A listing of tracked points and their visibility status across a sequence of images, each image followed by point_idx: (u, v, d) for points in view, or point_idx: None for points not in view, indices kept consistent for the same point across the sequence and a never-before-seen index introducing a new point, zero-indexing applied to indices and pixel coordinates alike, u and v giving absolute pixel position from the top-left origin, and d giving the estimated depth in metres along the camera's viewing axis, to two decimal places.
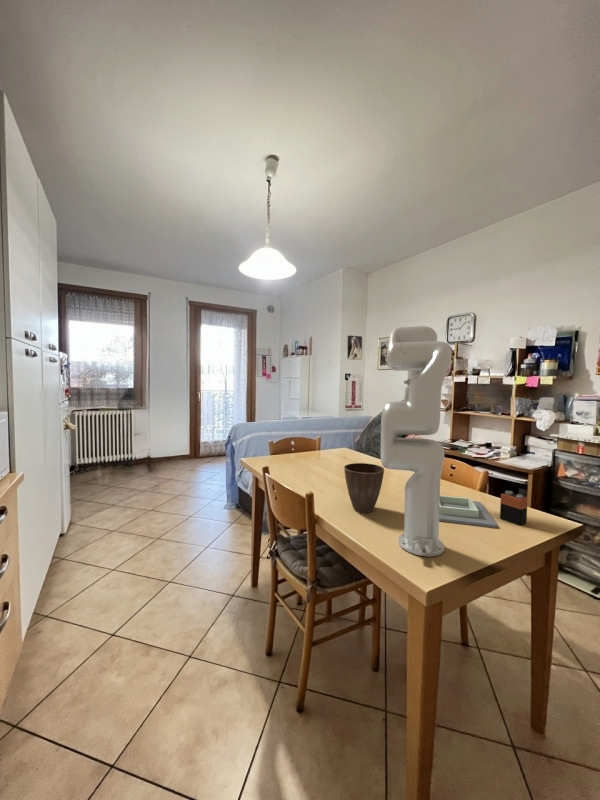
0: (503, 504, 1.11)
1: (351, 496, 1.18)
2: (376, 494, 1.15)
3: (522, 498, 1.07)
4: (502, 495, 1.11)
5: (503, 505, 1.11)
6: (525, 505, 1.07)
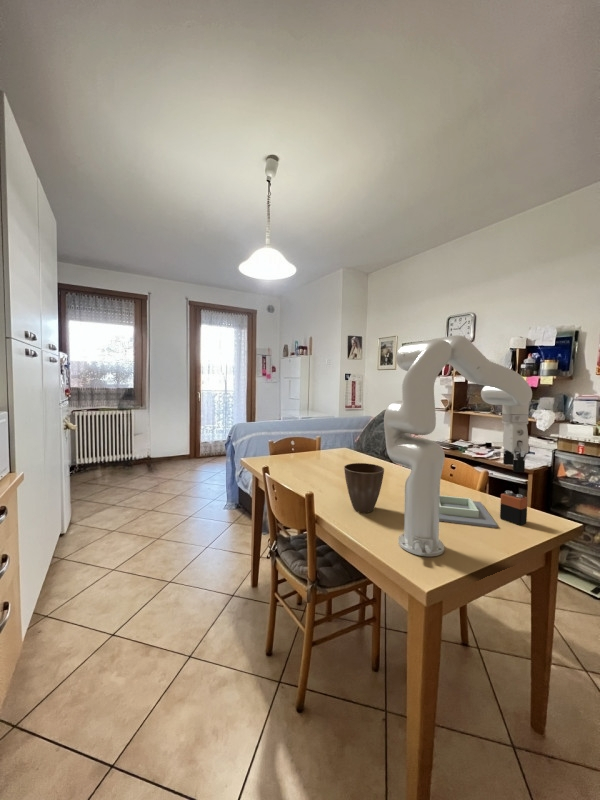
0: (503, 504, 1.11)
1: (351, 496, 1.18)
2: (376, 494, 1.15)
3: (522, 498, 1.07)
4: (502, 495, 1.11)
5: (503, 505, 1.11)
6: (525, 505, 1.07)
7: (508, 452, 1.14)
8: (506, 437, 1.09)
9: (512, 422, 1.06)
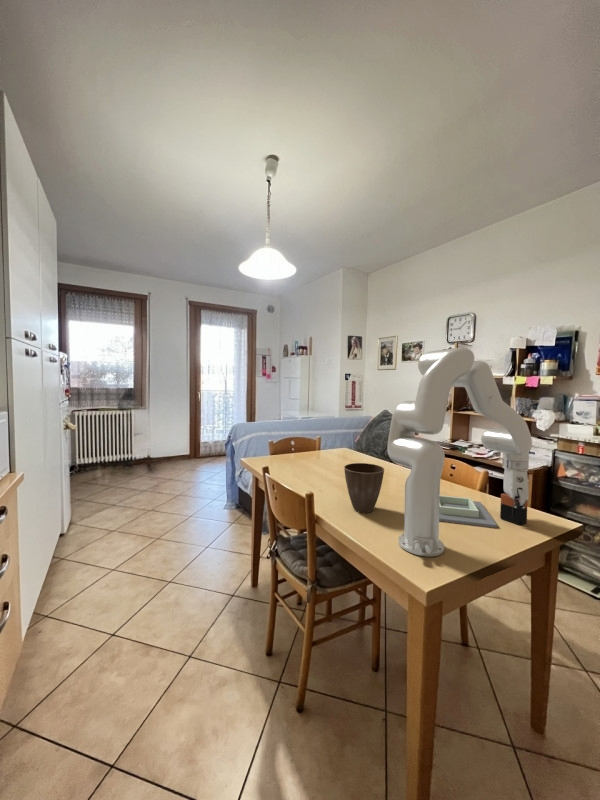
0: (503, 504, 1.11)
1: (351, 496, 1.18)
2: (376, 494, 1.15)
3: None
4: (502, 495, 1.11)
5: (503, 505, 1.11)
6: (525, 505, 1.07)
7: None
8: (506, 482, 1.10)
9: (512, 468, 1.06)
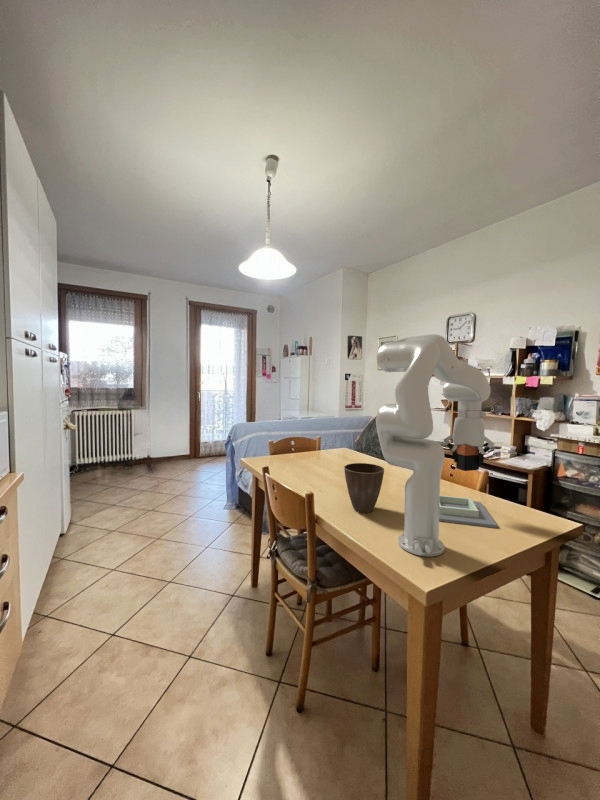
0: (468, 455, 1.12)
1: (351, 496, 1.18)
2: (376, 494, 1.15)
3: None
4: (467, 447, 1.12)
5: (468, 456, 1.12)
6: None
7: (455, 449, 1.17)
8: (469, 433, 1.13)
9: (479, 418, 1.12)
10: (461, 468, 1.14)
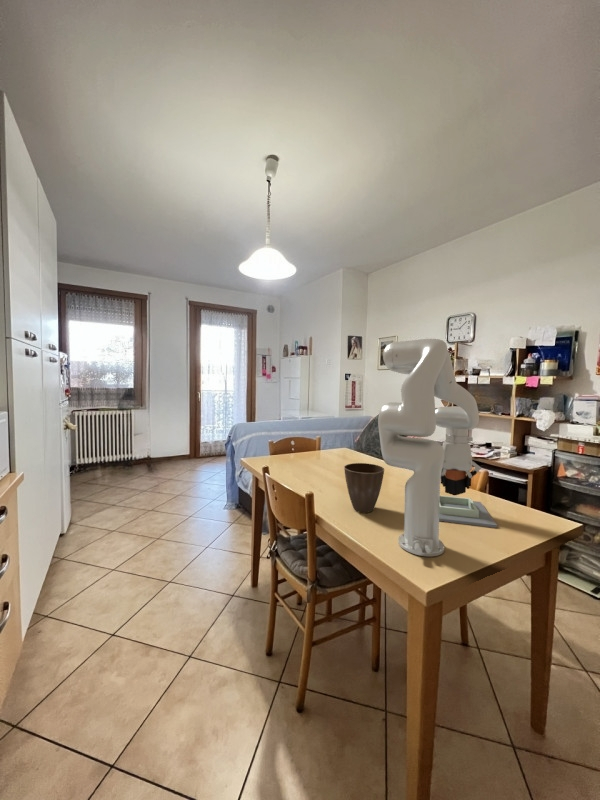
0: (457, 480, 1.15)
1: (351, 496, 1.18)
2: (376, 494, 1.15)
3: None
4: (456, 472, 1.14)
5: (457, 481, 1.15)
6: None
7: None
8: (458, 458, 1.15)
9: (467, 443, 1.14)
10: (451, 493, 1.16)
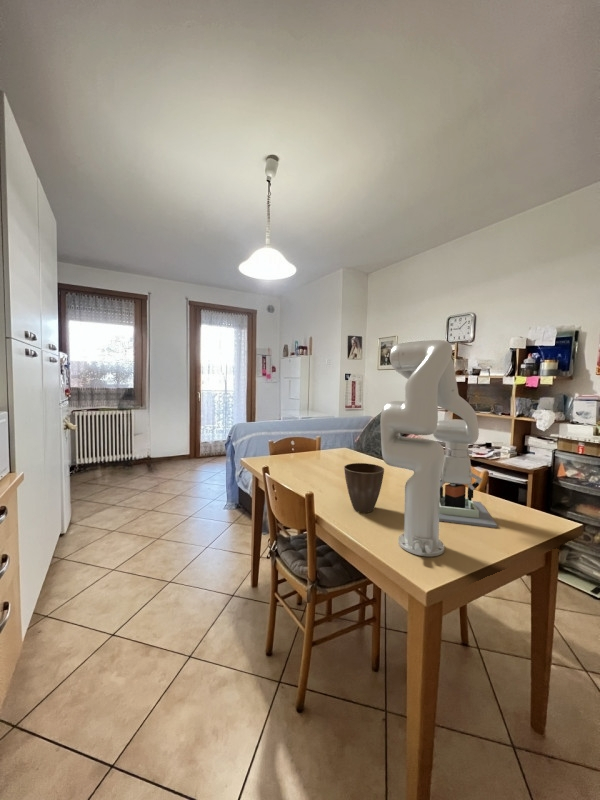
0: (457, 497, 1.15)
1: (351, 496, 1.18)
2: (376, 494, 1.15)
3: (461, 484, 1.19)
4: (456, 489, 1.14)
5: (457, 498, 1.15)
6: None
7: None
8: (458, 471, 1.15)
9: (467, 456, 1.15)
10: None
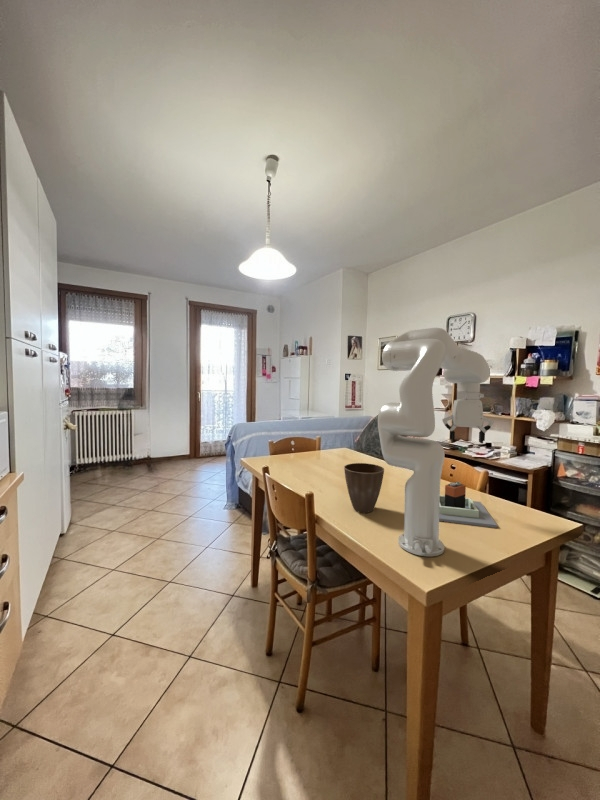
0: (457, 497, 1.15)
1: (351, 496, 1.18)
2: (376, 494, 1.15)
3: (461, 484, 1.19)
4: (456, 489, 1.14)
5: (457, 498, 1.15)
6: None
7: None
8: (469, 414, 1.16)
9: None
10: None
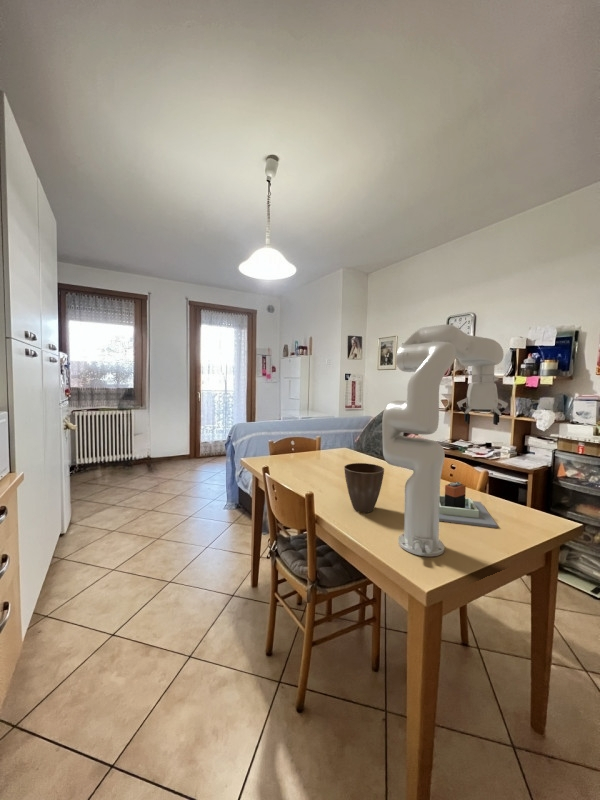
0: (457, 497, 1.15)
1: (351, 496, 1.18)
2: (376, 494, 1.15)
3: (461, 484, 1.19)
4: (456, 489, 1.14)
5: (457, 498, 1.15)
6: None
7: None
8: (484, 396, 1.19)
9: (493, 382, 1.19)
10: None
